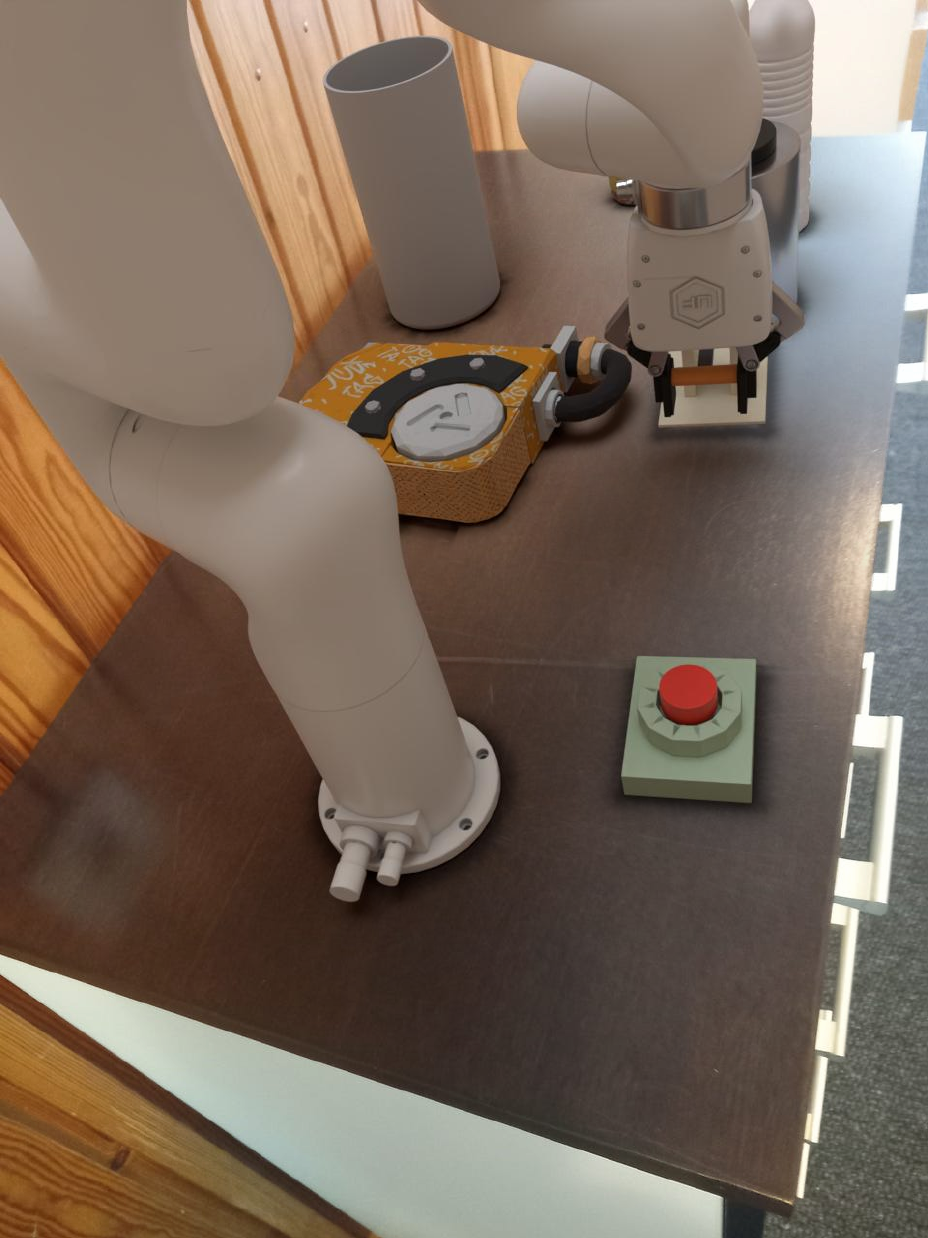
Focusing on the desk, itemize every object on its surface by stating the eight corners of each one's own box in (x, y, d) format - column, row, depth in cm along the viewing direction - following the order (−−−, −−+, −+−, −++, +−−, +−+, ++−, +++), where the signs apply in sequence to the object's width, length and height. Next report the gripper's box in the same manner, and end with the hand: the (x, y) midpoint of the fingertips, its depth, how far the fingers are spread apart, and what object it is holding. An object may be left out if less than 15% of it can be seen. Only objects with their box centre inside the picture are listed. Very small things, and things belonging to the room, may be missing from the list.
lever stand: (765, 432, 88) (765, 310, 80) (659, 435, 91) (648, 318, 82) (768, 350, 96) (768, 231, 87) (670, 356, 98) (661, 241, 90)
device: (349, 297, 102) (640, 308, 90) (372, 367, 108) (648, 387, 96) (230, 441, 90) (550, 477, 77) (263, 511, 96) (566, 556, 83)
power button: (716, 726, 65) (715, 709, 64) (658, 724, 66) (656, 707, 65) (719, 681, 67) (718, 664, 66) (663, 679, 68) (661, 663, 67)
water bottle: (744, 214, 113) (740, -43, 95) (806, 205, 112) (814, -57, 94) (747, 254, 108) (744, -10, 90) (813, 246, 106) (823, -25, 88)
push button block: (751, 803, 65) (751, 767, 62) (624, 795, 67) (618, 760, 64) (756, 679, 71) (755, 641, 68) (639, 675, 73) (634, 638, 71)
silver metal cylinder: (796, 342, 96) (801, 160, 83) (665, 350, 99) (651, 176, 87) (797, 263, 105) (801, 87, 92) (676, 272, 108) (665, 104, 96)
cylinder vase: (472, 336, 108) (414, 90, 90) (371, 328, 113) (298, 94, 96) (519, 272, 115) (474, 31, 97) (422, 268, 120) (362, 39, 102)
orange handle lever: (737, 391, 80) (736, 367, 79) (672, 394, 82) (670, 371, 80) (742, 292, 87) (742, 268, 85) (682, 296, 89) (680, 273, 87)
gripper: (562, 229, 70) (595, 439, 83) (828, 202, 65) (818, 430, 78) (577, 176, 75) (606, 382, 88) (826, 147, 70) (817, 371, 83)
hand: (706, 403), depth 83 cm, fingers closed on orange handle lever, 5 cm apart
